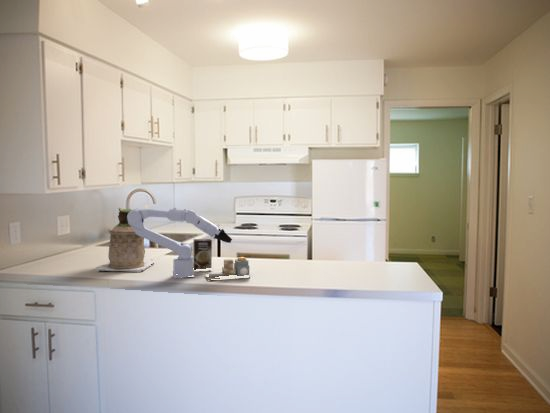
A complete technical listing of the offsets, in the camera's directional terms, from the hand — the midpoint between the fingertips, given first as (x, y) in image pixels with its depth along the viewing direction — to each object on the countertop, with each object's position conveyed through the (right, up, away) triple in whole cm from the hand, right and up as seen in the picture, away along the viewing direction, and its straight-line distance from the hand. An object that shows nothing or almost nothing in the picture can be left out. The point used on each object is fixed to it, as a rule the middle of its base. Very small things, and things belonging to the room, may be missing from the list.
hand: (229, 241), depth 201 cm
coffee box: (-15, -16, +11) cm, 25 cm away
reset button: (+6, -10, -2) cm, 12 cm away
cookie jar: (-57, -16, +16) cm, 61 cm away
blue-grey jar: (+6, -16, -2) cm, 17 cm away
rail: (-3, -17, -5) cm, 18 cm away
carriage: (0, -15, -4) cm, 16 cm away
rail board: (-1, -17, -3) cm, 17 cm away
